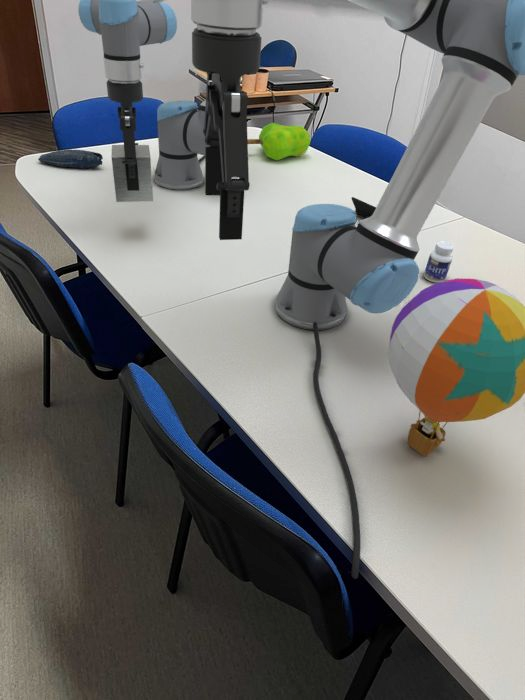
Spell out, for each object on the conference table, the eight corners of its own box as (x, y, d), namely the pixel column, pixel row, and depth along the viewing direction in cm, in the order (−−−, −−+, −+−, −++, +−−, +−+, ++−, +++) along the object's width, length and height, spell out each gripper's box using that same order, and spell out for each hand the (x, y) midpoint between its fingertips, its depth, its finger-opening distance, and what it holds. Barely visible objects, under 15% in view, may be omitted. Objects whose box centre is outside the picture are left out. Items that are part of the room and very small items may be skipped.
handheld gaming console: (400, 212, 153) (393, 191, 145) (389, 233, 152) (381, 212, 144) (365, 206, 159) (356, 185, 151) (355, 225, 158) (345, 205, 150)
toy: (336, 437, 84) (375, 278, 66) (409, 388, 95) (460, 239, 76) (438, 521, 73) (519, 358, 55) (507, 455, 84) (595, 300, 65)
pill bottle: (422, 279, 126) (432, 247, 121) (424, 270, 130) (434, 238, 125) (444, 285, 125) (455, 252, 120) (446, 275, 129) (457, 243, 124)
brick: (153, 201, 126) (150, 157, 119) (116, 202, 124) (111, 157, 117) (151, 187, 132) (148, 144, 125) (116, 188, 130) (111, 144, 124)
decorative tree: (225, 119, 187) (305, 119, 192) (225, 149, 194) (302, 148, 199) (232, 134, 173) (318, 133, 179) (232, 165, 180) (315, 164, 185)
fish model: (99, 172, 164) (97, 156, 161) (35, 165, 165) (32, 149, 162) (106, 165, 170) (105, 149, 167) (44, 159, 171) (41, 143, 168)
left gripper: (143, 93, 105) (150, 200, 119) (140, 69, 121) (147, 166, 135) (105, 92, 103) (117, 200, 117) (107, 68, 119) (117, 166, 133)
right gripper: (289, 52, 47) (270, 259, 60) (240, 14, 66) (234, 179, 79) (207, 48, 45) (205, 262, 59) (181, 11, 64) (184, 179, 78)
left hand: (133, 182), depth 126 cm, fingers closed on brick, 8 cm apart
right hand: (222, 215), depth 69 cm, fingers open, 13 cm apart
